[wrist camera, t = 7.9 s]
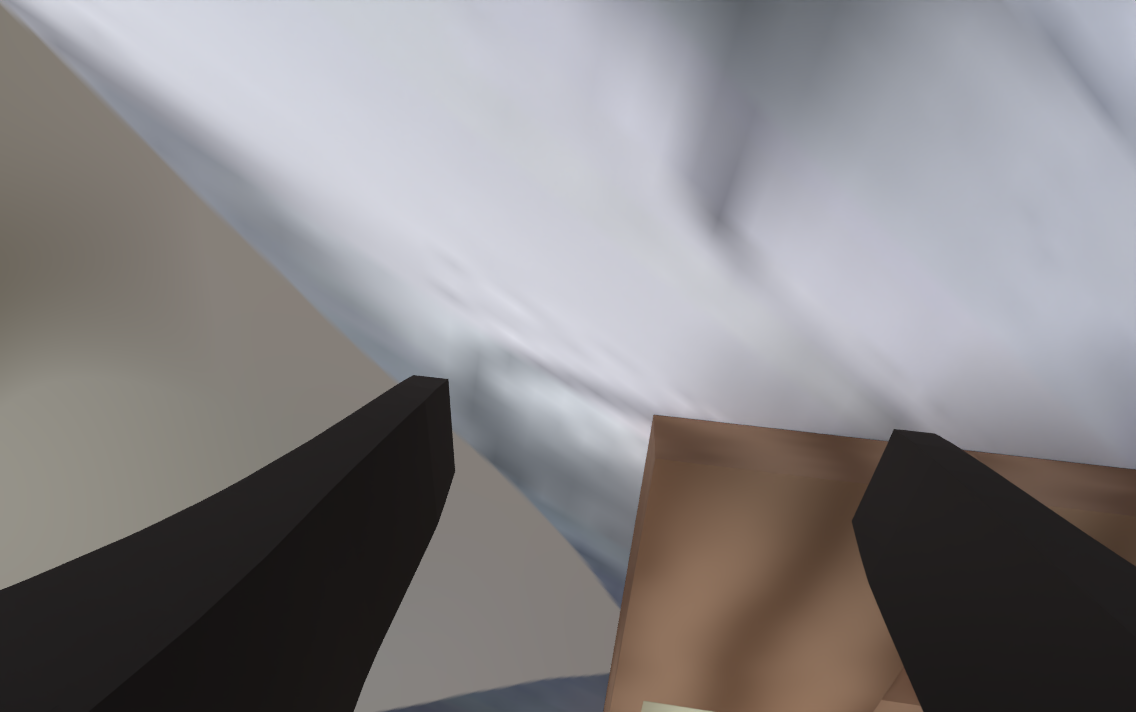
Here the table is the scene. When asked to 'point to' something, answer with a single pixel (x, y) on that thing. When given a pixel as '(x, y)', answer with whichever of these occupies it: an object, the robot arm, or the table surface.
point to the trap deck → (786, 569)
